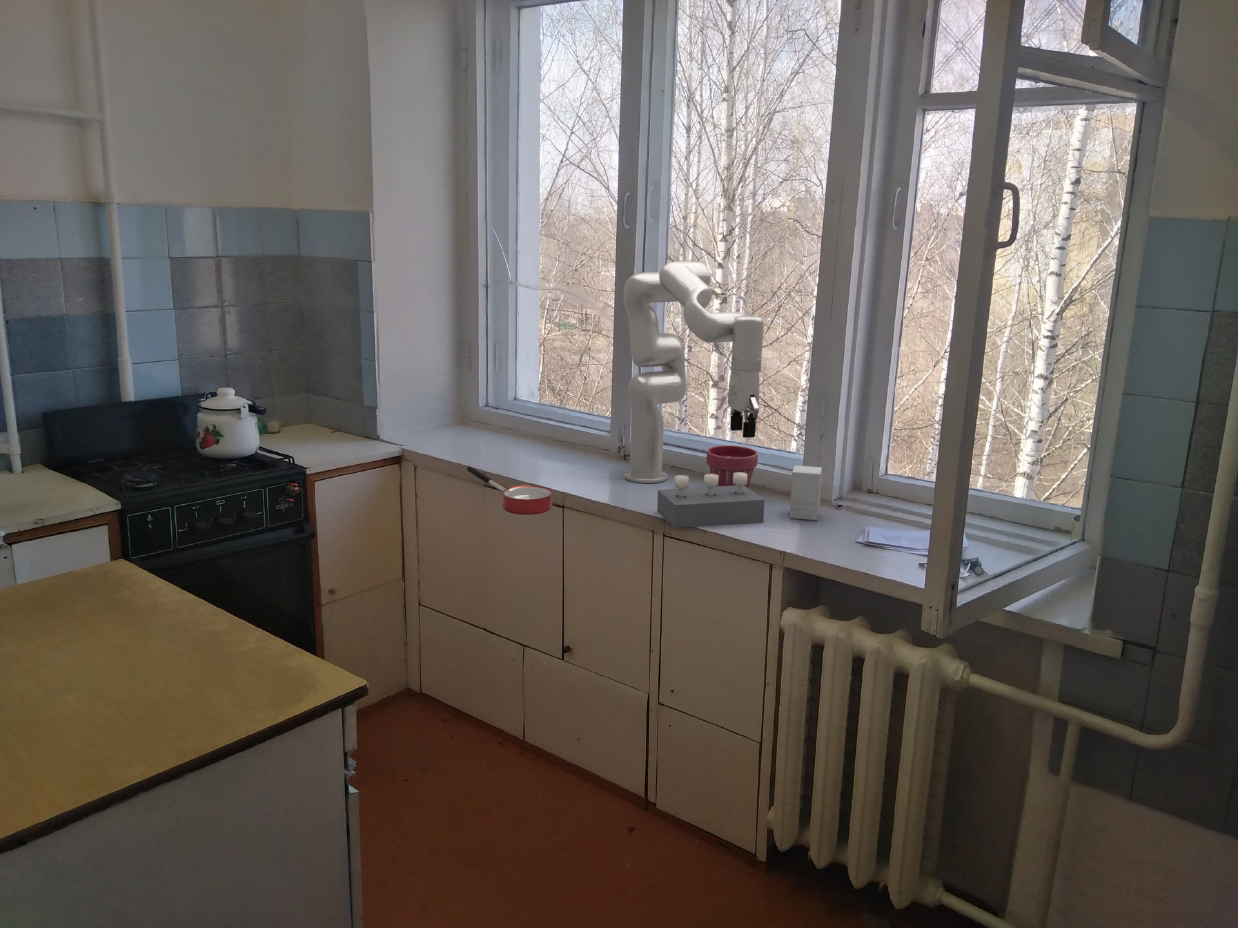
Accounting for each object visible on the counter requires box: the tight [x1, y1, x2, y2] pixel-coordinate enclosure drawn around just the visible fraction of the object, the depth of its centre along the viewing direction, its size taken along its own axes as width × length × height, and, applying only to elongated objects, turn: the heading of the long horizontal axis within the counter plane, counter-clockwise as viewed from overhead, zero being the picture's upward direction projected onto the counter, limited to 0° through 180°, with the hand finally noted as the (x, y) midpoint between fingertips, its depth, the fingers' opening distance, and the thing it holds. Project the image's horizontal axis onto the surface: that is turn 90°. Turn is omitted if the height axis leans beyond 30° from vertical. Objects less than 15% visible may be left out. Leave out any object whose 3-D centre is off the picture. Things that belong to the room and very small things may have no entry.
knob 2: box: [703, 473, 718, 496], centre depth 246 cm, size 4×4×7 cm
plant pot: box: [705, 444, 759, 489], centre depth 266 cm, size 14×14×13 cm
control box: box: [656, 485, 765, 529], centre depth 247 cm, size 14×24×6 cm, turn 106°
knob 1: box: [674, 474, 690, 498], centre depth 243 cm, size 4×4×7 cm
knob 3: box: [733, 472, 747, 494], centre depth 248 cm, size 4×4×7 cm
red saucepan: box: [466, 465, 553, 516], centre depth 257 cm, size 32×13×6 cm, turn 51°
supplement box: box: [789, 465, 823, 521], centre depth 249 cm, size 7×7×13 cm
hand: (742, 433), depth 244 cm, fingers open, 7 cm apart
